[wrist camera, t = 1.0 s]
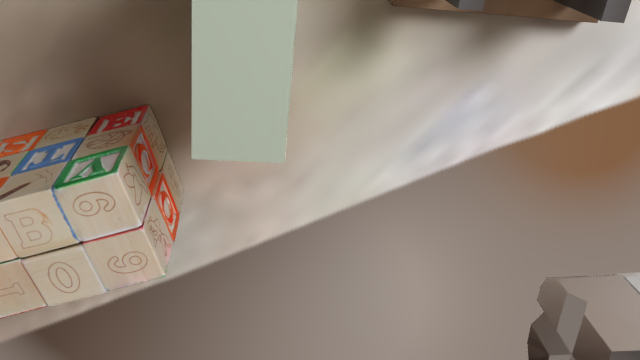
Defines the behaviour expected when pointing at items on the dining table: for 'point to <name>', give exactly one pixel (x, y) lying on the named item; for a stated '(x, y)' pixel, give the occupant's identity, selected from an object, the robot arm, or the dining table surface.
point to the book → (241, 78)
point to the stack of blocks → (85, 210)
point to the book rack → (532, 8)
